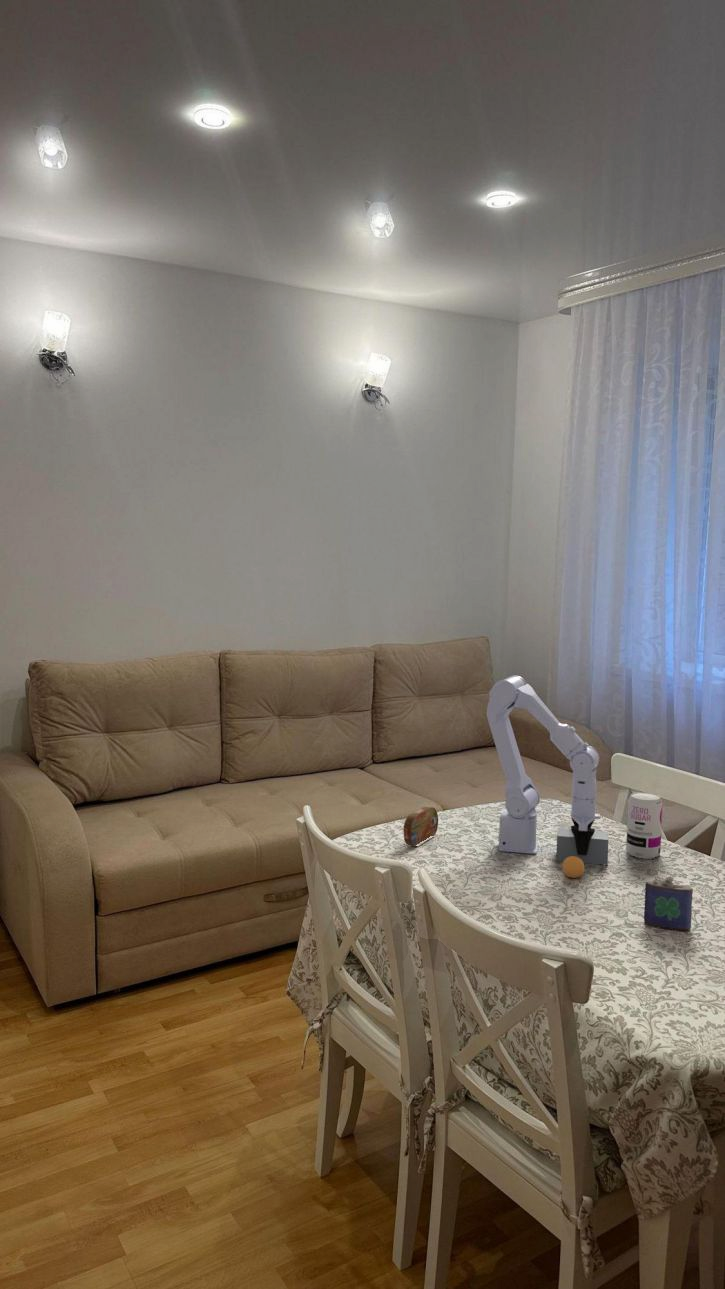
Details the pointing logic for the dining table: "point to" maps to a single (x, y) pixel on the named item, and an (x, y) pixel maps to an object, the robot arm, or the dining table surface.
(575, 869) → the ball
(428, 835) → the tin
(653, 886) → the flask
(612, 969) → the dining table surface
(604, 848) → the grey rectangular prism
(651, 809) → the supplement can
